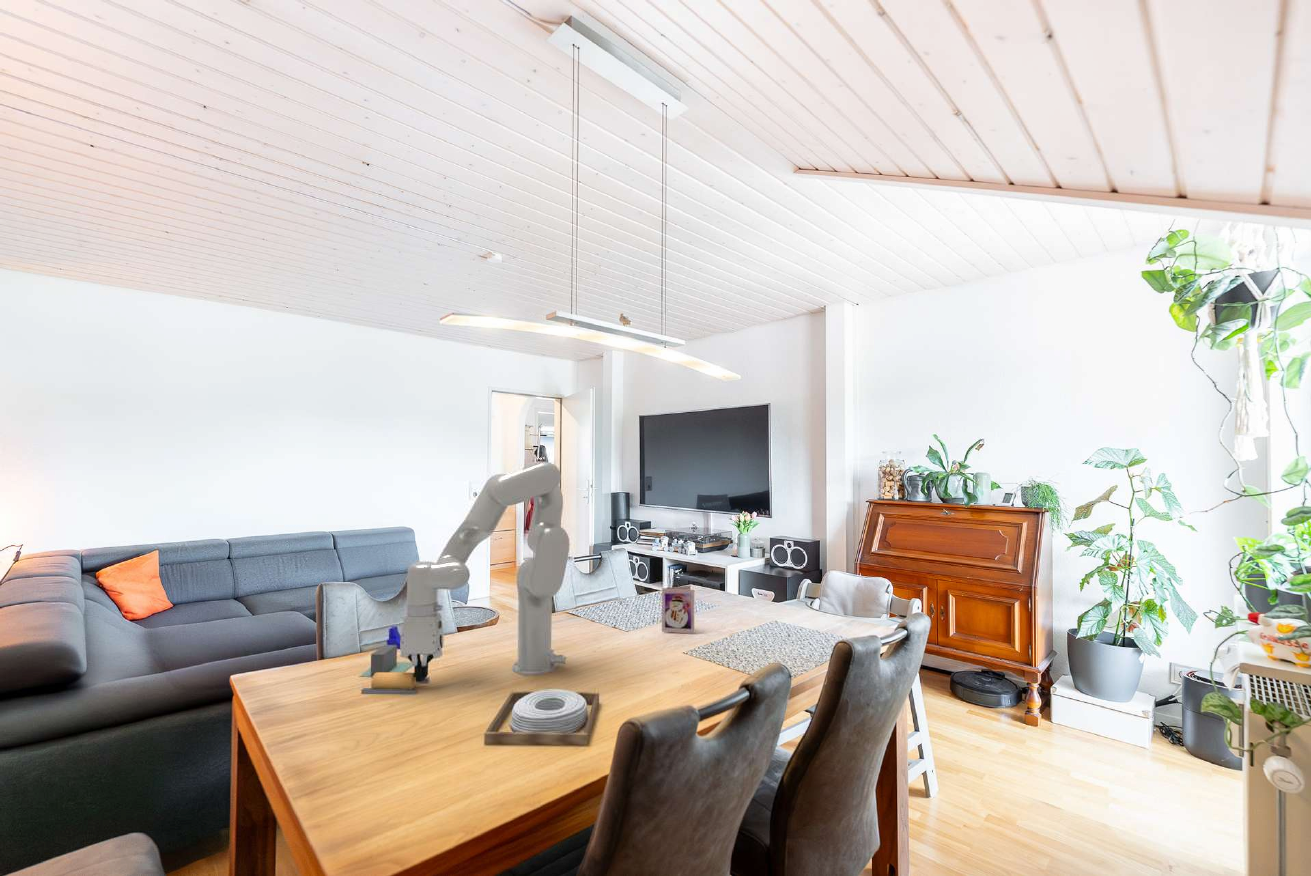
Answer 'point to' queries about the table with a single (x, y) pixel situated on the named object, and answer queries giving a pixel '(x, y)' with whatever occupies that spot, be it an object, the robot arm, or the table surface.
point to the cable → (549, 712)
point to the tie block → (384, 659)
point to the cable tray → (539, 737)
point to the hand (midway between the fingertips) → (421, 679)
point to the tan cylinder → (393, 680)
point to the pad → (399, 668)
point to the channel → (392, 689)
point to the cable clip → (394, 637)
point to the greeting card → (678, 609)
